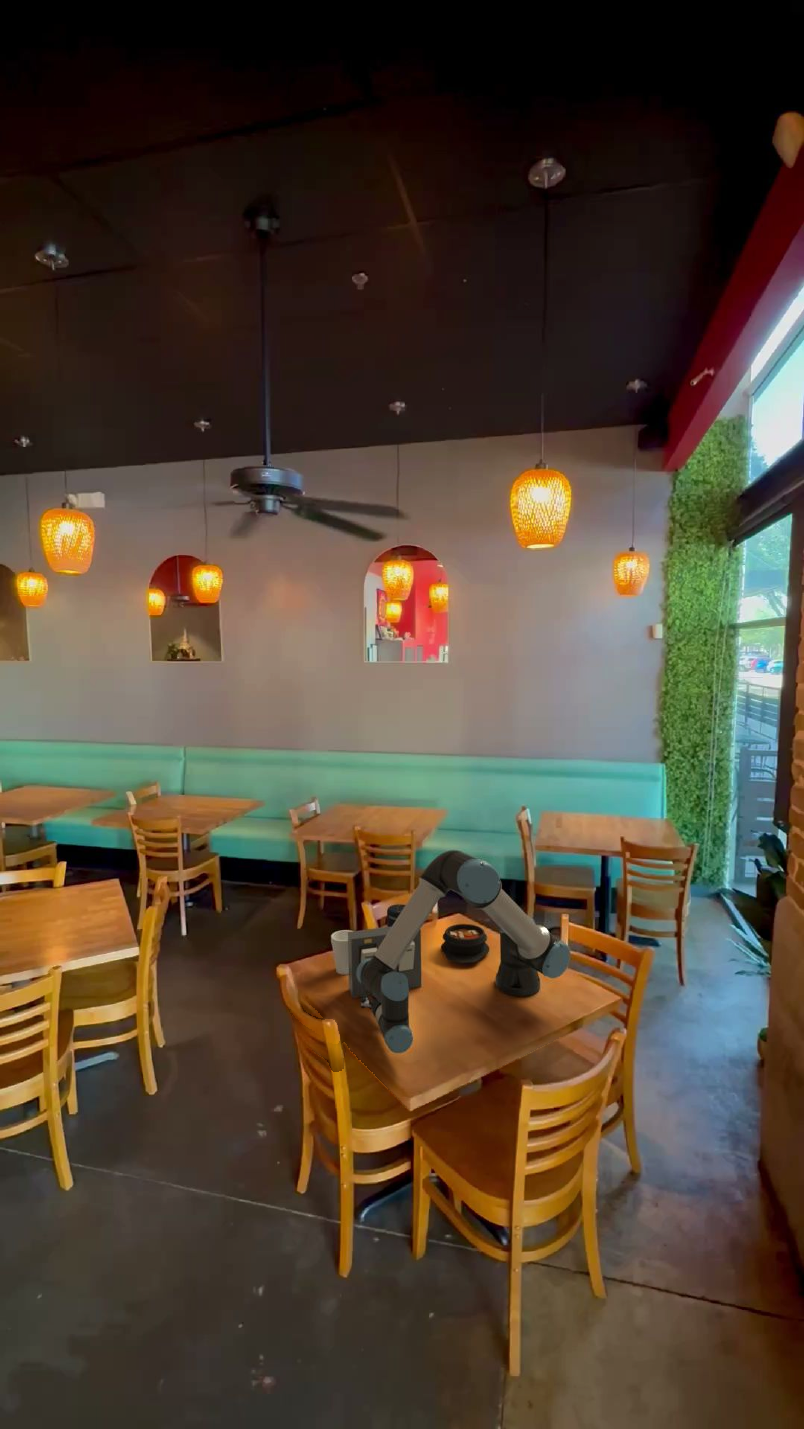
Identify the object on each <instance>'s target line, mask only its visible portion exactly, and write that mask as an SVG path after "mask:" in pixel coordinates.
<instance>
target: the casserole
mask: <svg viewBox="0 0 804 1429" xmlns="http://www.w3.org/2000/svg"><path fill="white" fill-rule="evenodd" d="M442 939H443V940H444V941H443V943H442V944H441V946H440V951H441V952H442V953H443V954H444V956H445V958H446V959H447V960H448V961H450V962H453V963H459V964H472V963H477V962H479V960H480V959H481V958H483V957H484V956H486V955H487V954H488V953H490V950H491V949H490V946H489V945H488V944H487V943H486V941H488V936H487V934H486V933H485V930H484V929H483V928H482V927H480V926H478V925H475V924H470V923H469V924H467V923H458V924H452V925H450V926H448V927H447V928H446V929H445V931H444V933H442Z"/></svg>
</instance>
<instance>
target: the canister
mask: <svg viewBox="0 0 804 1429" xmlns="http://www.w3.org/2000/svg"><path fill="white" fill-rule="evenodd" d="M405 906H406V904H401V903H399V904H398V903H396V904H393V905H390V906H389V907H388V908H387V910H386V922H387V923H386V924H387V926H386V927H391V926H393V924H394V923H395V921H396V920H397V918H398V916H399V915H400V913H401V912H402V910H403V909H404V907H405Z"/></svg>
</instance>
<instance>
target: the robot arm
mask: <svg viewBox="0 0 804 1429" xmlns="http://www.w3.org/2000/svg"><path fill="white" fill-rule="evenodd" d="M418 881H419V884H418V886H416V889H415V890H414V892H412V895H411V896H410V898H409V900H408V901H407V902H406V904H405V905H406V906H405V907H404V909H403V910H402V912H401V913H400V915H399V916H398V918H397V920H396V921H395V923H394V924H393V926H392V927H391V929H390V930H389V932H388V934H387V935H386V937H385V938H384V940H383V941H382V943H381V944H380V946H379V948H378V949H377V951H376V952H375V954H374V956H373V957H372V958H371V959H366V960H364V961H363V962H361V963H360V964H359V966H358V968H357V972H356V975H357V979H358V980H359V982H360V983H361V984H362V986H363V987H364V989H363V996H361V999H360V1008H361V1009H366V1007H368V1008H369V1009H370V1010H371V1011H372V1014H373V1017H374V1018H375V1020H376V1024H377V1026H378V1028H379V1030H380V1033H381V1035H382V1037H383V1041H384V1043H385V1045H386V1046H387V1048H388V1049H389V1051H390V1052H392V1053H394V1054H402V1053H403V1054H404V1053H405V1052H407V1051H408V1050H409V1049H411V1046H412V1044H413V1042H414V1035H413V1032H412V1031H413V1030H412V1029H411V1028H410V1013H409V999H410V998H409V994H410V989H409V987H408V979H407V977H406V976H405V975H404V974H402V973H399V972H393V971H394V970H395V968H396V967H397V965H398V963H399V962H400V960H401V959H402V957H403V955H404V954H405V952H406V951H407V949H408V948H409V946H410V944H411V943H412V941H413V940H414V938H415V936H416V935H417V933H418V932H419V930H421V929H422V927H423V925H424V924H425V922H426V920H427V919H428V917H429V916H430V914H432V913H431V912H432V911H433V910H434V909H435V906H436V904H437V903H438V902H439V900H440V899H441V898H444V897H446V896H447V894H448V892H449V891H450V890H451V891H453V892H455V893H456V894H458V895H459V896H461V897H462V898H463V900H465V901H466V902H467V903H468V904H469V906H470V907H472V908H474V909H475V910H481V911H483V912H484V913H485V914H486V915H487V916H488V917H489V918H490V919H491V920H492V921H493V922H494V923H495V924H496V925H497V926H498V927H499V929H500V931H499V936H500V937H499V938H500V939H499V942H500V944H499V946H500V947H499V948H500V962H499V966H498V969H497V973H496V974H495V981H494V983H495V987H496V988H497V989H498V991H500V992H502V993H503V994H506V995H509V996H513V997H515V996H516V997H528V996H532V995H533V996H534V994H537V993H538V992H539V991H540V989H541V978H540V975H539V973H540V974H542V975H543V976H544V977H547V978H549V979H557V978H559V977H561V976H562V975H563V974H564V973H565V972H566V970H568V967H569V964H570V961H571V954H572V953H571V949H570V946H569V945H567V944H566V943H565V942H564V941H562V940H559V939H558V938H556V937H555V936H554V935H553V934H552V933H551V932H550V930H548V929H547V928H546V926H544V925H540V924H536V921H535V919H533V918H531V917H529V916H528V914H526V912H524V910H523V909H522V908H521V907H520V906H519V905H518V904H517V903H516V902H515V901H514V900H513V899H512V898H511V897H510V896H509V895H508V894H507V893H506V892H505V890H504V889H502V881H501V879H500V875H499V872H498V870H497V869H496V868H495V866H493V865H491V864H490V863H489V862H488V861H486V860H483V859H480V858H477V857H476V856H472V855H471V854H467V853H465V852H463V851H461V850H457V849H456V850H455V849H452V850H447V851H444V852H442V853H440V854H439V855H438V856H436V857H435V858H434V859H433V860H431V861H430V863H429V864H428V865H427V866H426V868H424V870H423V872H422V873H421V874H420V876H419V878H418ZM368 991H369V992H370V995H368ZM367 995H368V996H371V999H370V1000H369V999H368V996H367Z"/></svg>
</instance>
